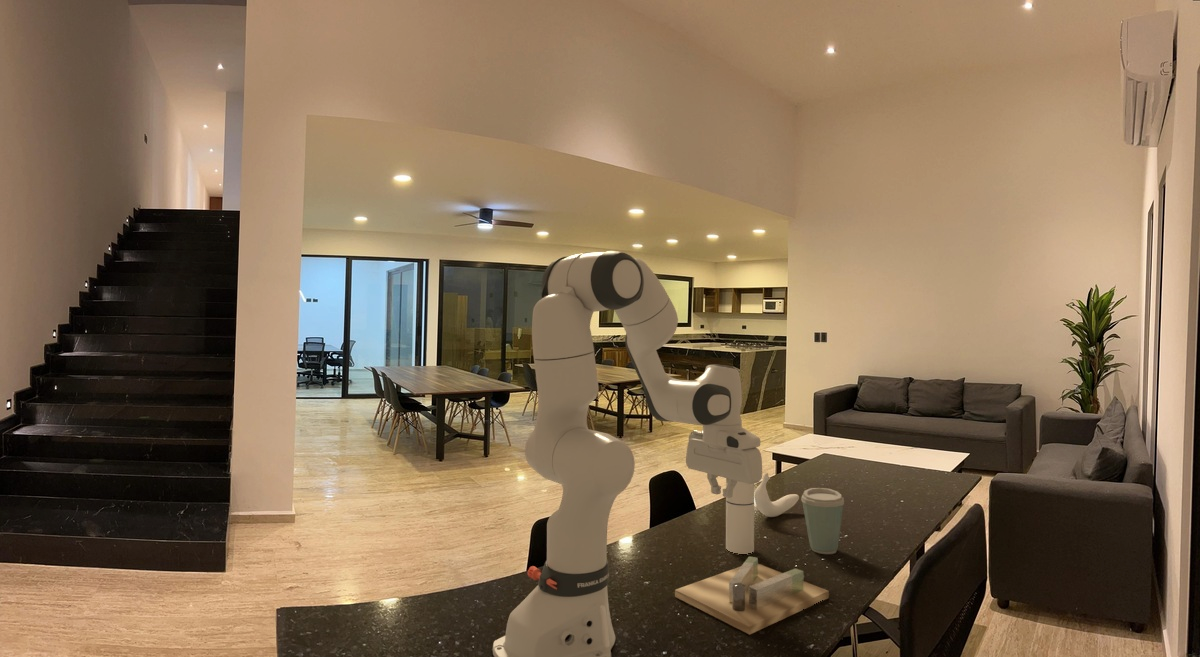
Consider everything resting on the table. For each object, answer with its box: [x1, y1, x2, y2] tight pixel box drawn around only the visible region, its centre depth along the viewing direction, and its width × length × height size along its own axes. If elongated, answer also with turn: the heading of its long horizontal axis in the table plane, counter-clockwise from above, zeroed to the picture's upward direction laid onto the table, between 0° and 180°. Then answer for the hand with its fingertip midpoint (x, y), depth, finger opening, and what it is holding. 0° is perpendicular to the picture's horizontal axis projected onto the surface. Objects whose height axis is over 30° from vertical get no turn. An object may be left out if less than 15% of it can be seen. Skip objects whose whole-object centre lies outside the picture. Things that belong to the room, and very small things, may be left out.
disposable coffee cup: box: [800, 487, 845, 555], centre depth 157 cm, size 11×11×15 cm
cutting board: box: [674, 563, 830, 636], centre depth 130 cm, size 26×20×2 cm
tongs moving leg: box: [729, 555, 759, 611], centre depth 129 cm, size 19×4×5 cm, turn 152°
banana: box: [754, 472, 800, 518], centre depth 186 cm, size 5×19×15 cm, turn 130°
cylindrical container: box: [725, 481, 755, 555], centre depth 158 cm, size 7×7×25 cm
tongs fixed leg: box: [749, 568, 804, 610], centre depth 126 cm, size 16×2×4 cm, turn 127°
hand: (721, 495), depth 139 cm, fingers open, 2 cm apart
